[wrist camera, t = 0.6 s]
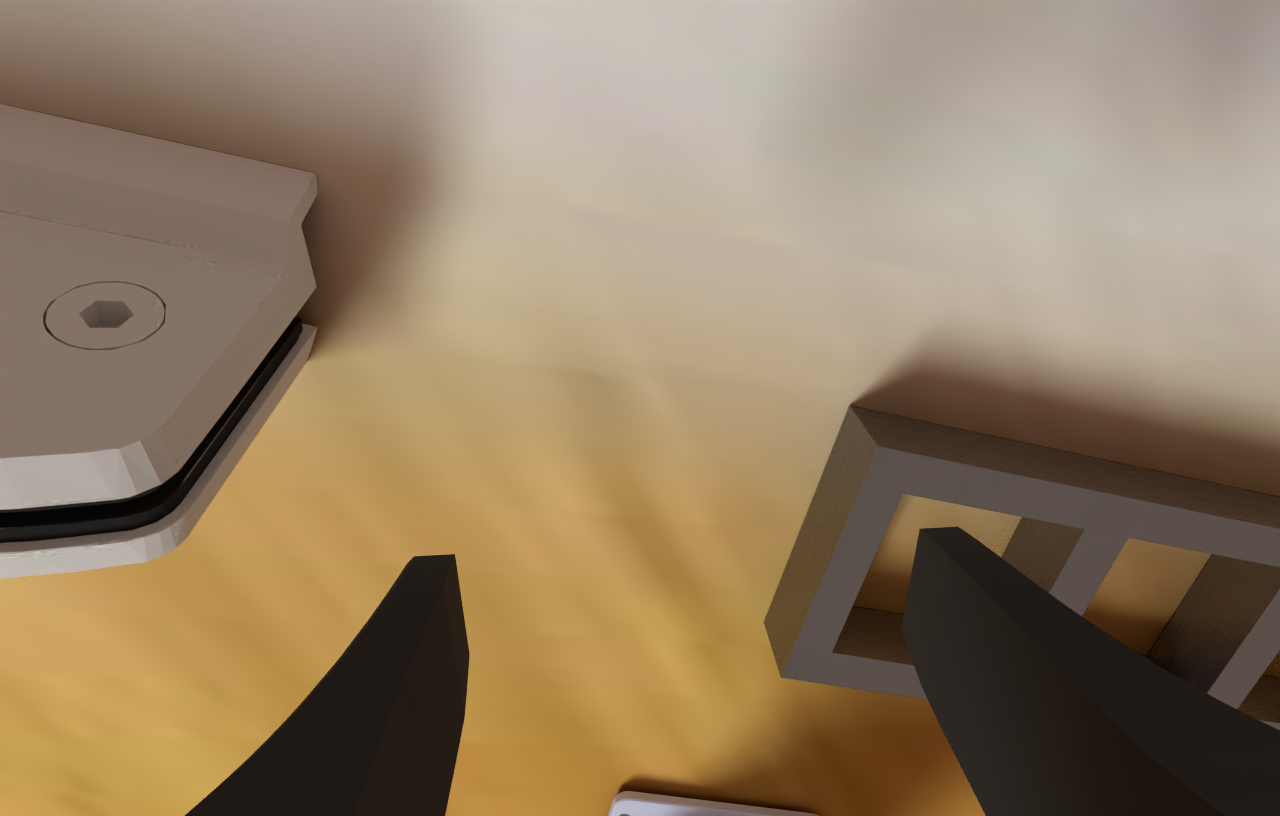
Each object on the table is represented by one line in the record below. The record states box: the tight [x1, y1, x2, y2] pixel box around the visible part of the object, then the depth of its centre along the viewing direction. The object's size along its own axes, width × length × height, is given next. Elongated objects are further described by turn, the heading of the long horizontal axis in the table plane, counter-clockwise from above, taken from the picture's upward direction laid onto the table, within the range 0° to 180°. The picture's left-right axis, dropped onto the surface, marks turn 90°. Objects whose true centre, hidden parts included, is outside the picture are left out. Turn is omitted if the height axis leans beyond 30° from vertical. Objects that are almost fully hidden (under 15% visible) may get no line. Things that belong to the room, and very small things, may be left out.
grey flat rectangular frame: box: [764, 406, 1280, 730], centre depth 26 cm, size 8×22×2 cm, turn 75°
